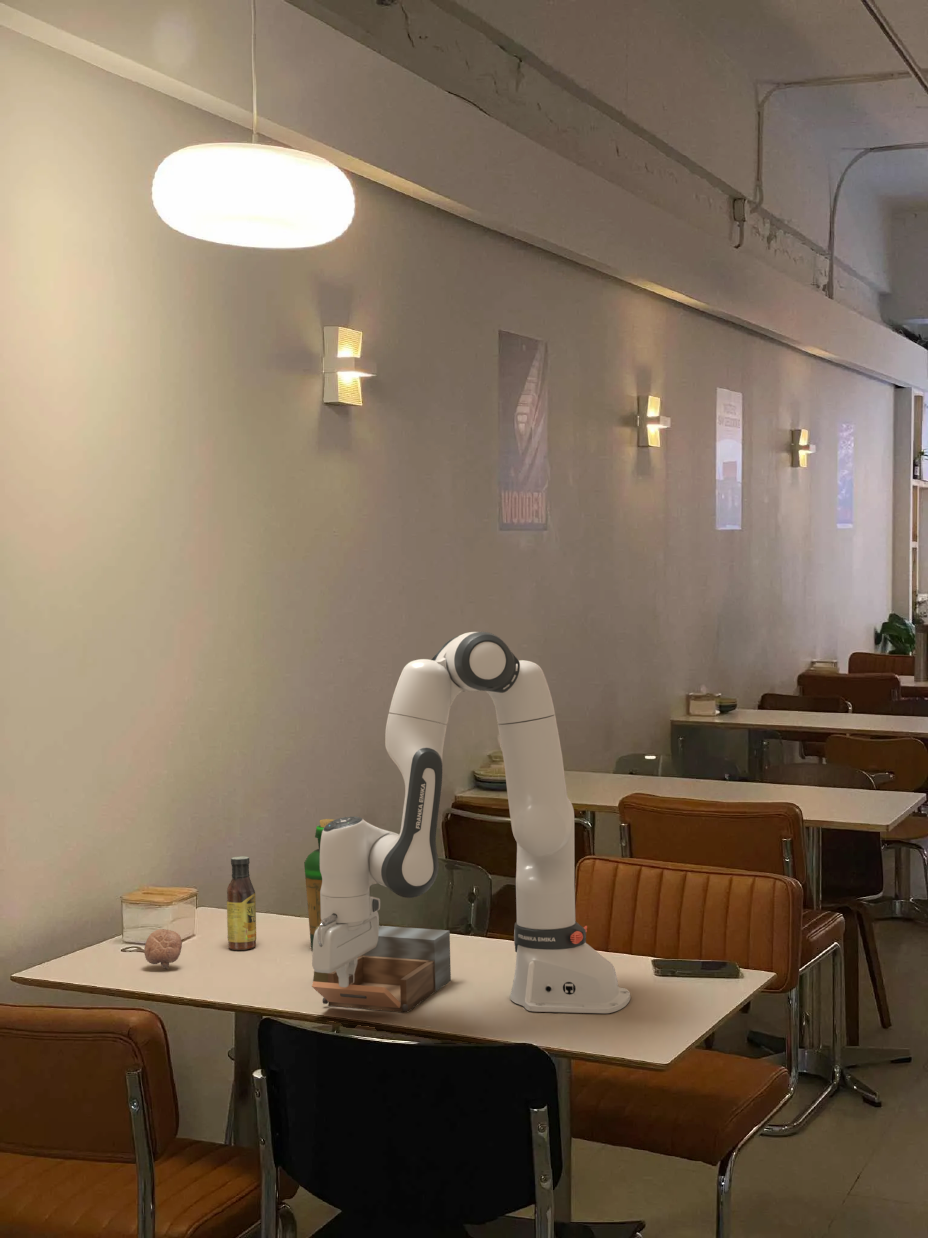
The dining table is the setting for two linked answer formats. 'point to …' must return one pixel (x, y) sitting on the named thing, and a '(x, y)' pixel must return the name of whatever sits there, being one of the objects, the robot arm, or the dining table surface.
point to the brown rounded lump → (163, 947)
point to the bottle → (314, 882)
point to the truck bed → (403, 966)
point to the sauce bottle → (241, 907)
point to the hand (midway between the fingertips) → (346, 985)
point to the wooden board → (356, 994)
